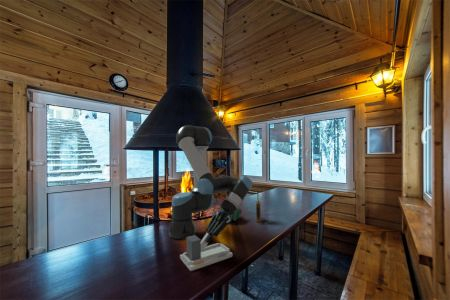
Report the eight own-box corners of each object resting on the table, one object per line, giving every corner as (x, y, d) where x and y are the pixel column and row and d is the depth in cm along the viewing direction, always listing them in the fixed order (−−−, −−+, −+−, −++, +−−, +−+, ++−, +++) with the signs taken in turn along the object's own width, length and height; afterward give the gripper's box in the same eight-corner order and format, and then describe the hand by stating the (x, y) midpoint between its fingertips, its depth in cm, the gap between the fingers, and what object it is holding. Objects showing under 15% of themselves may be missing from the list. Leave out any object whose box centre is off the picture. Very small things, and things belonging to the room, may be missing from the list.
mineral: (216, 217, 146) (216, 203, 147) (236, 215, 151) (236, 202, 151) (224, 225, 129) (223, 210, 129) (246, 222, 133) (246, 207, 134)
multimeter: (271, 225, 127) (270, 194, 128) (256, 224, 129) (255, 193, 130) (271, 218, 141) (270, 190, 142) (257, 217, 143) (256, 190, 144)
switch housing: (218, 246, 98) (218, 241, 98) (232, 256, 88) (232, 250, 88) (180, 258, 87) (180, 252, 87) (190, 271, 77) (190, 264, 77)
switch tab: (195, 253, 88) (194, 234, 88) (200, 258, 83) (200, 239, 83) (186, 255, 86) (186, 237, 86) (191, 261, 80) (191, 241, 81)
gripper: (243, 211, 91) (213, 258, 82) (228, 205, 102) (199, 247, 93) (234, 201, 89) (201, 249, 79) (219, 196, 100) (189, 238, 90)
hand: (200, 247), depth 86 cm, fingers closed
